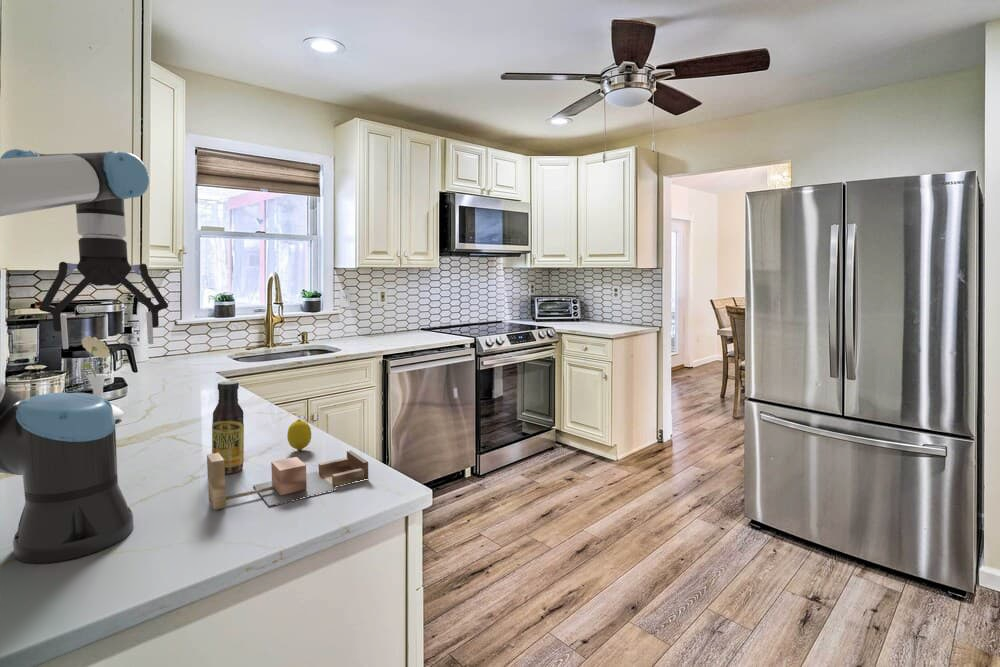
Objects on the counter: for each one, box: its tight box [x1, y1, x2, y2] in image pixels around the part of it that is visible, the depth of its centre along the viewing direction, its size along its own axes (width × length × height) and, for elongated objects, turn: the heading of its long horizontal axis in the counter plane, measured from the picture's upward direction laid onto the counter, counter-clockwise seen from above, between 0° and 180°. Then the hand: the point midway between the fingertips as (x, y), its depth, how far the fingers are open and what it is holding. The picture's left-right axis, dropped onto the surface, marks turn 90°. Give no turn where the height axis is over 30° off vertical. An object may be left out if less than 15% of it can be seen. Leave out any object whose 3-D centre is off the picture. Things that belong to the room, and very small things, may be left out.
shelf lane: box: [252, 449, 369, 507], centre depth 109 cm, size 20×12×4 cm, turn 128°
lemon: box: [286, 418, 312, 452], centre depth 129 cm, size 6×6×8 cm
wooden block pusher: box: [206, 453, 307, 511], centre depth 102 cm, size 16×6×9 cm, turn 128°
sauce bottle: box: [211, 380, 245, 475], centre depth 115 cm, size 7×6×20 cm
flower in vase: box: [81, 335, 125, 421], centre depth 151 cm, size 13×11×25 cm
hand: (109, 345), depth 104 cm, fingers open, 13 cm apart
